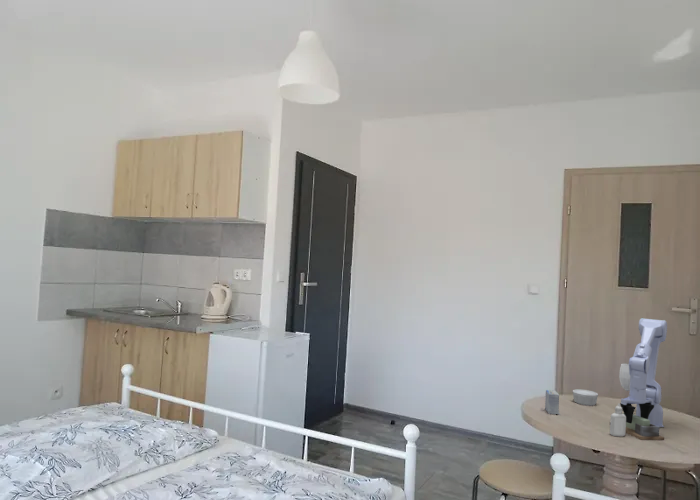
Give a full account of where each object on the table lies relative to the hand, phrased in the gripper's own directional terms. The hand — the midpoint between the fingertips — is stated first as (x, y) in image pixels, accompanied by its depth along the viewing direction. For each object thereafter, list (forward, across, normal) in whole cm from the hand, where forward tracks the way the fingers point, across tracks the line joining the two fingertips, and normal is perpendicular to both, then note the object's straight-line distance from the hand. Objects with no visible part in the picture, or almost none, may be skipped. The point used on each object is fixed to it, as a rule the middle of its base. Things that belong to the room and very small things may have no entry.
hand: (636, 422), depth 206 cm
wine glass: (+4, -23, -26) cm, 35 cm away
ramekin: (+4, -12, -40) cm, 42 cm away
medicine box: (+4, +16, -29) cm, 34 cm away
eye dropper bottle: (+4, +11, +2) cm, 12 cm away
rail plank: (+3, 0, 0) cm, 3 cm away
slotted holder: (+4, 0, 0) cm, 4 cm away
